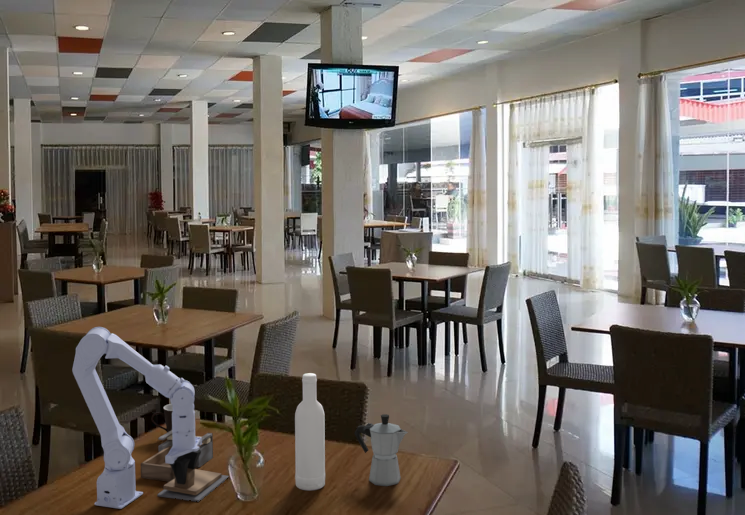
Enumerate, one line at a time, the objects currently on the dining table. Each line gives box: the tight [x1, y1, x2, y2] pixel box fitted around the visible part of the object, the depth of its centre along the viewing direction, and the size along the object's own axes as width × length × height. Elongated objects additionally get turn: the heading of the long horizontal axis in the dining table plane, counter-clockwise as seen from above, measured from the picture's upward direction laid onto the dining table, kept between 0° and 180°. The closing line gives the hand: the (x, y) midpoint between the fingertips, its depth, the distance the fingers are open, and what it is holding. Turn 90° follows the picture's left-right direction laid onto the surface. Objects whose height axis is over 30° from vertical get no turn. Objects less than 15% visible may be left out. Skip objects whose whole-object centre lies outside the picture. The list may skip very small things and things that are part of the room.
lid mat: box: [157, 474, 230, 503], centre depth 192 cm, size 16×12×1 cm
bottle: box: [294, 372, 326, 491], centre depth 192 cm, size 8×8×30 cm
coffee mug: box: [150, 403, 173, 433], centre depth 230 cm, size 12×9×10 cm
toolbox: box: [140, 430, 214, 482], centre depth 206 cm, size 19×13×7 cm
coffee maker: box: [354, 413, 409, 487], centre depth 197 cm, size 15×9×18 cm, turn 74°
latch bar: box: [166, 435, 210, 444], centre depth 212 cm, size 2×13×1 cm, turn 73°
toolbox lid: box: [163, 468, 223, 495], centre depth 192 cm, size 14×9×5 cm
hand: (185, 480), depth 188 cm, fingers closed on toolbox lid, 3 cm apart
